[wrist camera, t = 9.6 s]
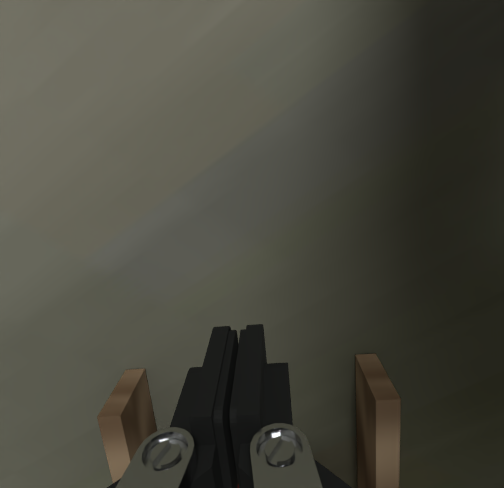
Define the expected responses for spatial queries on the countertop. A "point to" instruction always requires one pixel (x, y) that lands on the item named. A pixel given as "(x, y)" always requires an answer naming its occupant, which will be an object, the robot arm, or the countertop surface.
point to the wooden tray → (367, 420)
